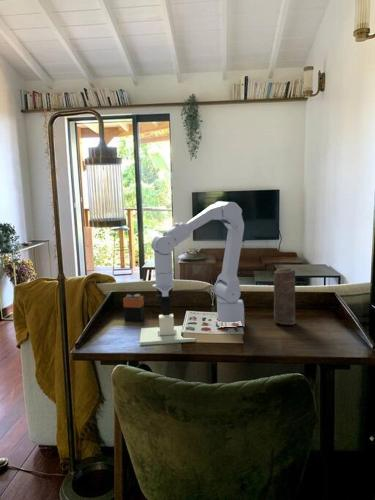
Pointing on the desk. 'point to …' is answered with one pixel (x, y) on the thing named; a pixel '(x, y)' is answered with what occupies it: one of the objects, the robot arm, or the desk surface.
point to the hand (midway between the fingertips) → (165, 311)
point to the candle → (284, 296)
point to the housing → (166, 324)
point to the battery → (133, 308)
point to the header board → (162, 336)
